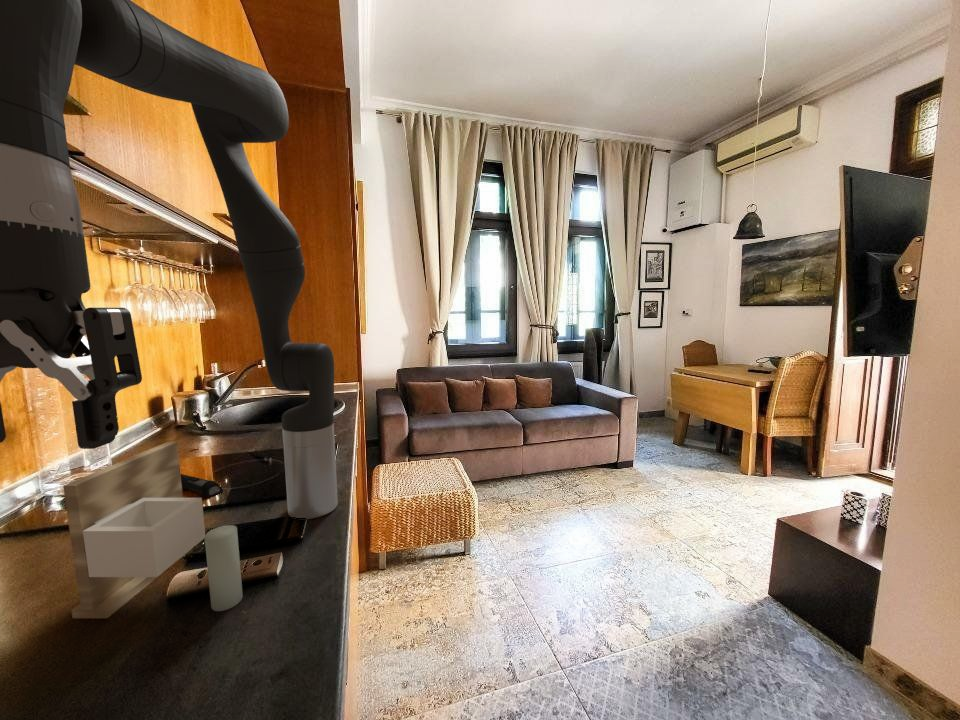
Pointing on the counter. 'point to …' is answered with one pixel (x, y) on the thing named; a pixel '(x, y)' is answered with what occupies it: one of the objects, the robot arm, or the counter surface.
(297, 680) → the counter surface
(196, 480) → the electric trimmer
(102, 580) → the oak board
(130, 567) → the grey open box
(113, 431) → the robot arm
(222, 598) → the pale green rounded cylinder
